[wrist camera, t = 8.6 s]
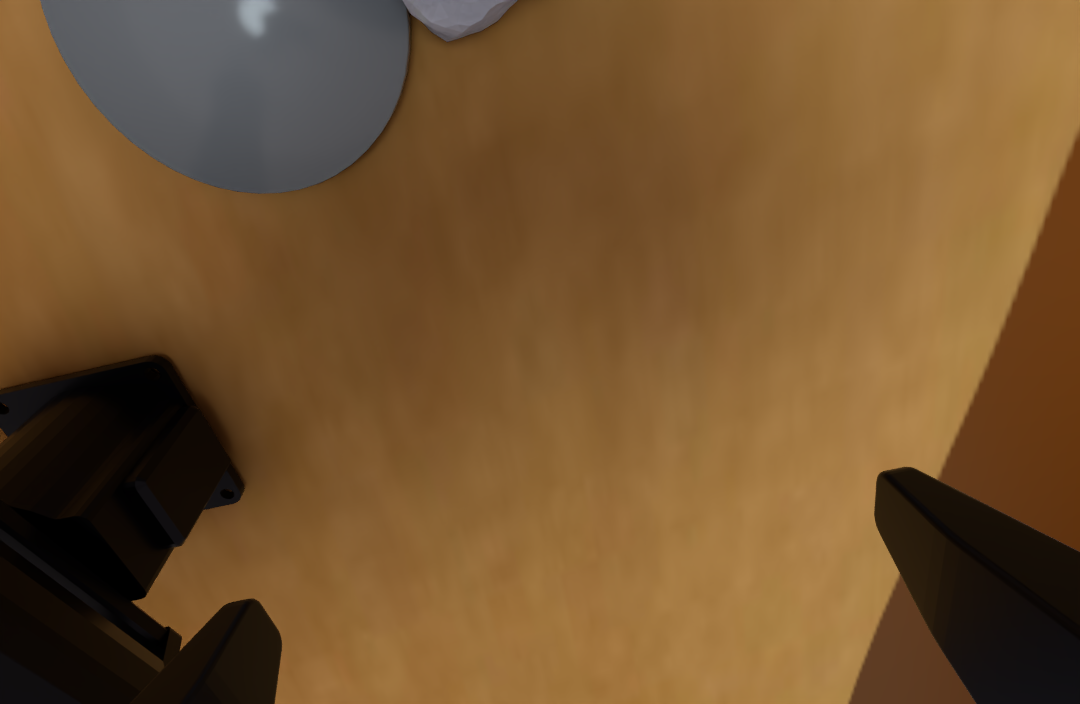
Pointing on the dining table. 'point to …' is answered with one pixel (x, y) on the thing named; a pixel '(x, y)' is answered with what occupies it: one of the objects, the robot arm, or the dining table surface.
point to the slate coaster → (240, 81)
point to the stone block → (457, 15)
